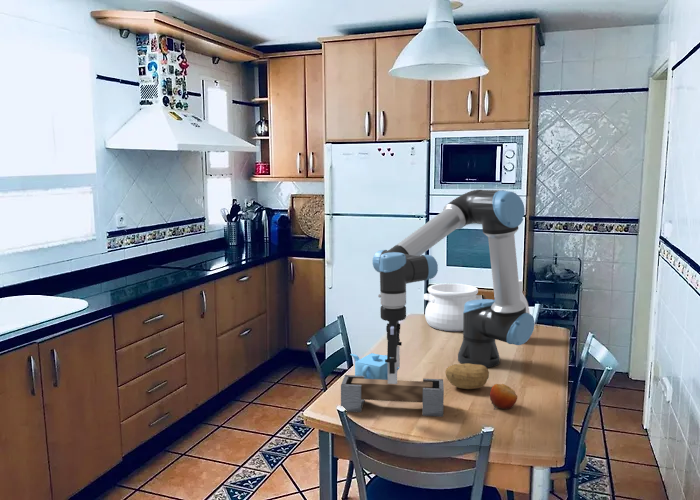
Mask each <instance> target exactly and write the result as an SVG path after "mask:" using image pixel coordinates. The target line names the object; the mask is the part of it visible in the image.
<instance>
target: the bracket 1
mask: <svg viewBox="0 0 700 500" xmlns="http://www.w3.org/2000/svg"><path fill="white" fill-rule="evenodd" d="M353 378H359V379H364V376H356V375H355V374H354V375H351V374H350V375H349V374H345V375H344V377H343V379H342V382H341V384H340V407H341V406H343V407H344V408H345V409H346V410H347V412H348V413H362V409H363V407H364V404H365V400H362V385H352V384H351V382H352V380H353Z"/></svg>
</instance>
